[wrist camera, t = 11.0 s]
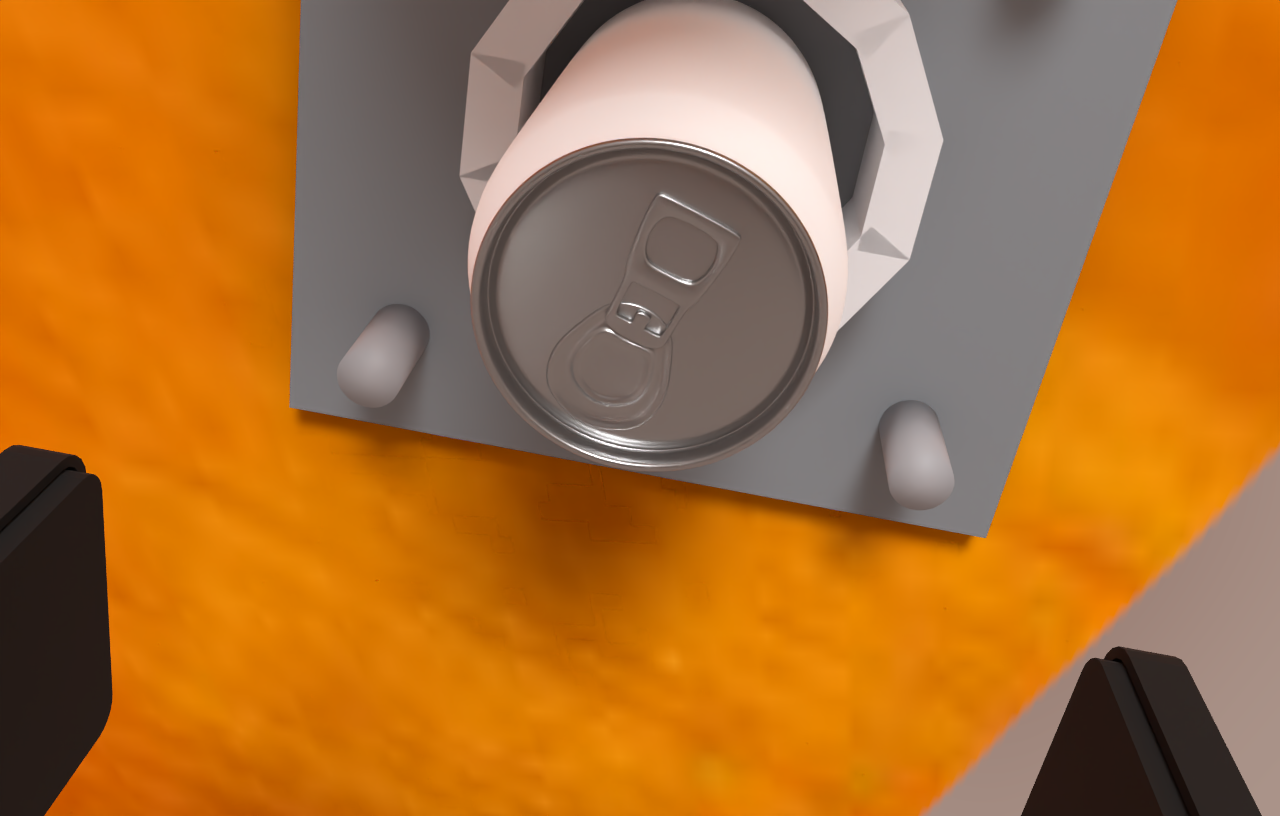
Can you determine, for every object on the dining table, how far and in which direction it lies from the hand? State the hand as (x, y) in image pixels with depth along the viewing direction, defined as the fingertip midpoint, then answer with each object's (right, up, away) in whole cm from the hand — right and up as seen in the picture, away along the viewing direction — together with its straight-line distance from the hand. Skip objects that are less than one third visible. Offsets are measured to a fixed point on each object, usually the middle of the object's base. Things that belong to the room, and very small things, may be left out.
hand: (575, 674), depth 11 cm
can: (+2, +9, +18) cm, 21 cm away
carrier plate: (+2, +10, +19) cm, 21 cm away
